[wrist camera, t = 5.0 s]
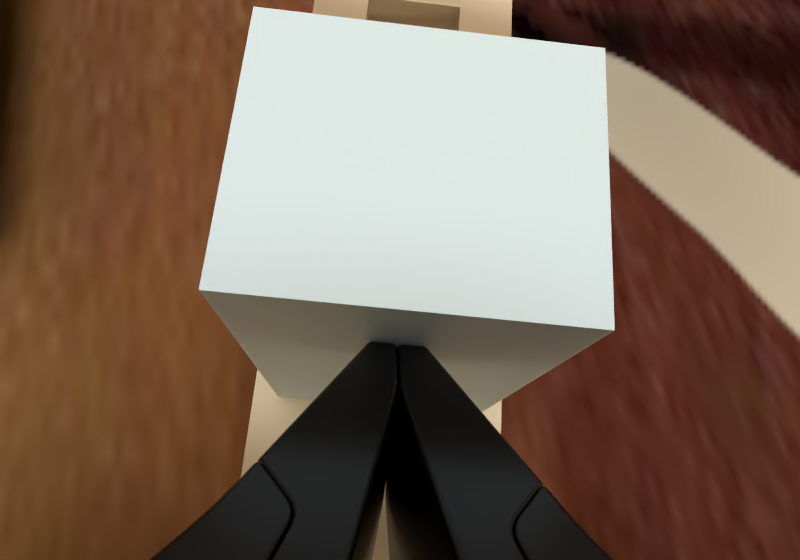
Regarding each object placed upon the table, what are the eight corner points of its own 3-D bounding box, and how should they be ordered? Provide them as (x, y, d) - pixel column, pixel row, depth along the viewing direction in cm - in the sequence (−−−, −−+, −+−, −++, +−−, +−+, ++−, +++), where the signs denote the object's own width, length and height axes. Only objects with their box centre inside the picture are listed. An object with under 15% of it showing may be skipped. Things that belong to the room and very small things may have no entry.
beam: (474, 707, 16) (497, 747, 13) (221, 689, 15) (196, 727, 13) (497, 44, 22) (515, -13, 20) (320, 23, 22) (316, -37, 19)
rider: (469, 419, 16) (613, 330, 7) (283, 403, 16) (198, 289, 7) (474, 275, 18) (604, 48, 9) (303, 257, 17) (254, 7, 8)
